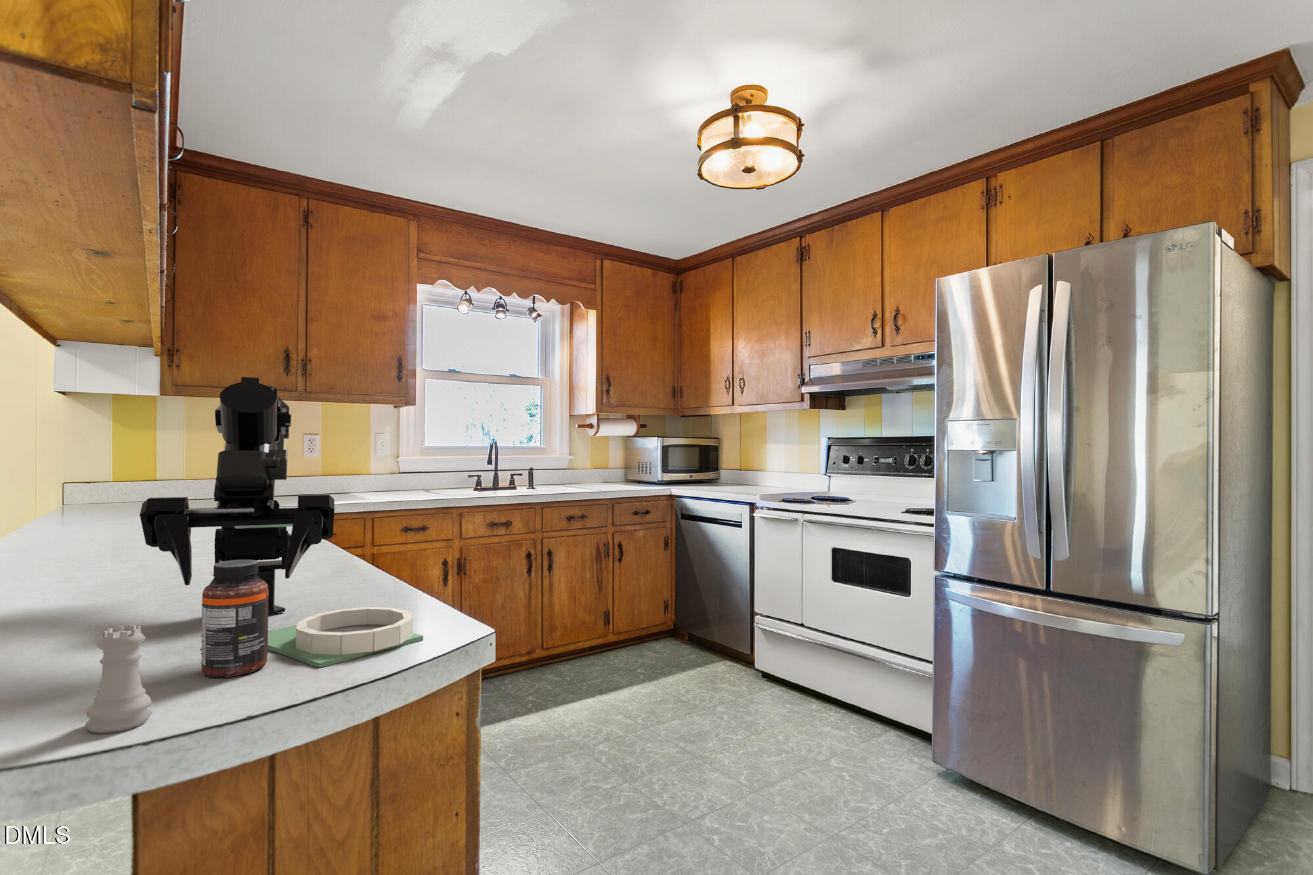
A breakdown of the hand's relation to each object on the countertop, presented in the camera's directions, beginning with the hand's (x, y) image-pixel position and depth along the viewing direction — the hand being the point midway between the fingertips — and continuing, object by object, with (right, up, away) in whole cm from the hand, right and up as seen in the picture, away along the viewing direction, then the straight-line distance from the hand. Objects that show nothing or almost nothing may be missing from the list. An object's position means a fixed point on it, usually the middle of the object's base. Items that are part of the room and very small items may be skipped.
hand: (238, 579), depth 72 cm
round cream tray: (+9, -9, +8) cm, 15 cm away
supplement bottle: (+1, -9, -2) cm, 10 cm away
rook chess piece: (0, -9, -16) cm, 18 cm away
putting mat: (+6, -9, +9) cm, 14 cm away
